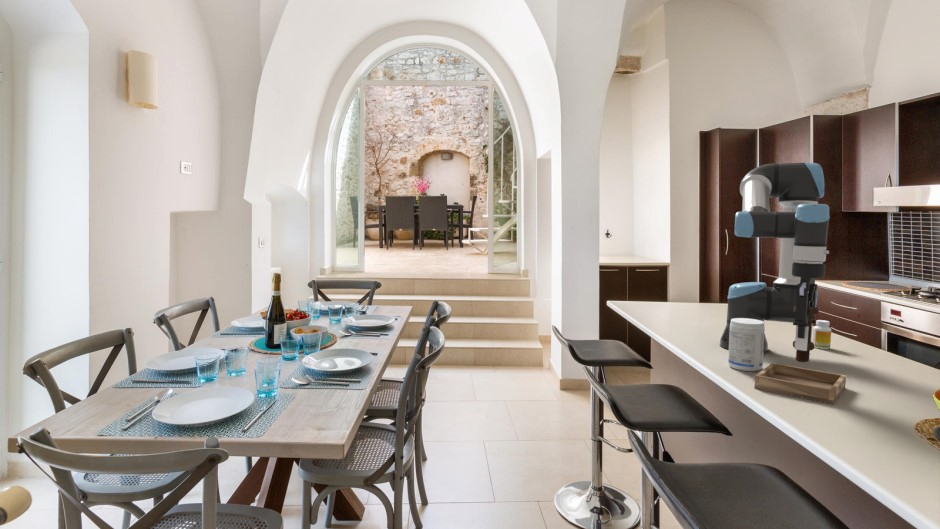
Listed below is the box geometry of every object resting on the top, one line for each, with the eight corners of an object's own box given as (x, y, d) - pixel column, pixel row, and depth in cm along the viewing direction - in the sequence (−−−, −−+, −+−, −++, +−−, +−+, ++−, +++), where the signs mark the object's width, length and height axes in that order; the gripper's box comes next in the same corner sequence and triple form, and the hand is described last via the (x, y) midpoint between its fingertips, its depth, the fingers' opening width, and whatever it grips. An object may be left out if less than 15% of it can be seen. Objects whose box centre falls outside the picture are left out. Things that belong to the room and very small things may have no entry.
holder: (771, 374, 160) (772, 362, 159) (845, 388, 148) (846, 375, 147) (754, 388, 147) (755, 375, 146) (833, 404, 134) (834, 390, 134)
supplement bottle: (833, 349, 191) (835, 322, 190) (818, 349, 191) (820, 322, 190) (823, 346, 197) (825, 319, 196) (808, 345, 197) (810, 319, 196)
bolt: (817, 365, 143) (821, 308, 142) (796, 363, 144) (800, 308, 143) (808, 359, 149) (811, 305, 147) (788, 358, 150) (791, 304, 148)
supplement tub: (744, 362, 173) (747, 317, 171) (769, 370, 164) (773, 322, 162) (720, 364, 169) (723, 318, 168) (745, 373, 160) (748, 324, 159)
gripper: (818, 265, 135) (812, 356, 137) (831, 261, 148) (825, 345, 150) (784, 262, 140) (779, 351, 142) (800, 259, 153) (794, 340, 155)
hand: (802, 348), depth 146 cm, fingers closed on bolt, 4 cm apart
